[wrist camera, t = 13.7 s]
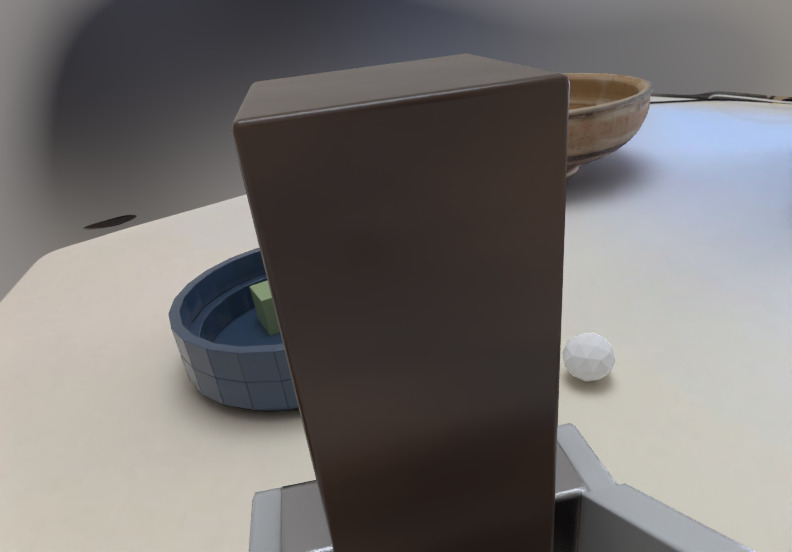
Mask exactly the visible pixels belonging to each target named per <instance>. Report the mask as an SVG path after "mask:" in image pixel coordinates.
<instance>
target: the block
mask: <svg viewBox="0 0 792 552" xmlns="http://www.w3.org/2000/svg"><path fill="white" fill-rule="evenodd" d="M250 291H251V294H252V298H253V302H254V306H255V309H256V313H257V317H258V320H259V321H260V323H261V324H262V325H263V327H264V328H265V329H266V331H267V332H268V333H269V335H270V336H271V335H274V334H277V333H279V332H280V329H279V325H278V321H277V317H276V313H275V308H274V304H273V300H272V296H271V292H270V288H269V284H268V280H267V281H264V282H261V283H258V284H255V285H252V286H250Z"/></svg>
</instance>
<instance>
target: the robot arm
mask: <svg viewBox="0 0 792 552" xmlns="http://www.w3.org/2000/svg"><path fill="white" fill-rule="evenodd" d="M249 552H334V550H333V546H332V542H331V538H330V534H329V530H328V526H327V522H326V517H325V513H324V509H323V505H322V501H321V497H320V493H319V489H318V485H317V481H316V480H314V481H309V482H304V483H299V484H294V485H289V486H283V487H281V488H276V489H271V490H266V491H261V492H256V493H255V494H254V497H253V500H252V513H251V527H250V542H249ZM553 552H755V551H753V550H751V549H749V548H747V547H745V546H743V545H742V544H740V543H738V542H736V541H734V540H732V539H730V538H728V537H726V536H724V535H722V534H721V533H719V532H717V531H715V530H713V529H711V528H709V527H707V526H705V525H703V524H702V523H700V522H698V521H696V520H694V519H692V518H690V517H688V516H686V515H684V514H683V513H681V512H679V511H677V510H675V509H673V508H671V507H669V506H667V505H665V504H664V503H662V502H660V501H658V500H656V499H654V498H652V497H650V496H648V495H646V494H645V493H643V492H641V491H639V490H637V489H635V488H633V487H631V486H629V485H627V484H626V483H625V484H620V485H617V483H616V482H615V480H614V479H613V478H612V476H611V475H610V473H609V472H608V471H607V469H606V468H605V466H604V465H603V464H602V462H601V461H600V460H599V458H598V457H597V455H596V454H595V453H594V451H593V450H592V448H591V447H590V446H589V444H588V443H587V441H586V440H585V439H584V437H583V436H582V435H581V433H580V432H579V430H578V429H577V428H576V426H575V425H573V424H571V423H568V424H563V425H559V426H558V427H557V455H556V483H555V511H554V539H553Z"/></svg>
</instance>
